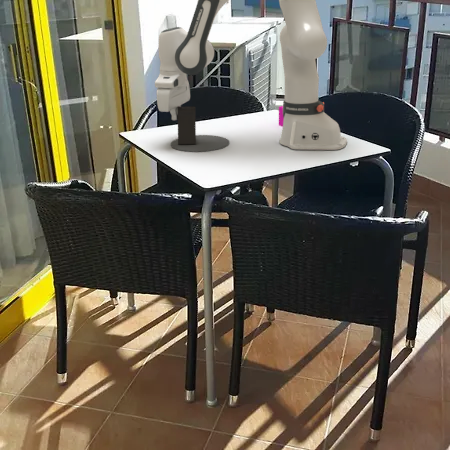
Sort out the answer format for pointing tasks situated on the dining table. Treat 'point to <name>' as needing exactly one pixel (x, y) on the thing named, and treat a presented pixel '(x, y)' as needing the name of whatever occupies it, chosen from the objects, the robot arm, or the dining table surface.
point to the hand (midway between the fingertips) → (175, 119)
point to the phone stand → (186, 126)
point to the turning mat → (202, 144)
